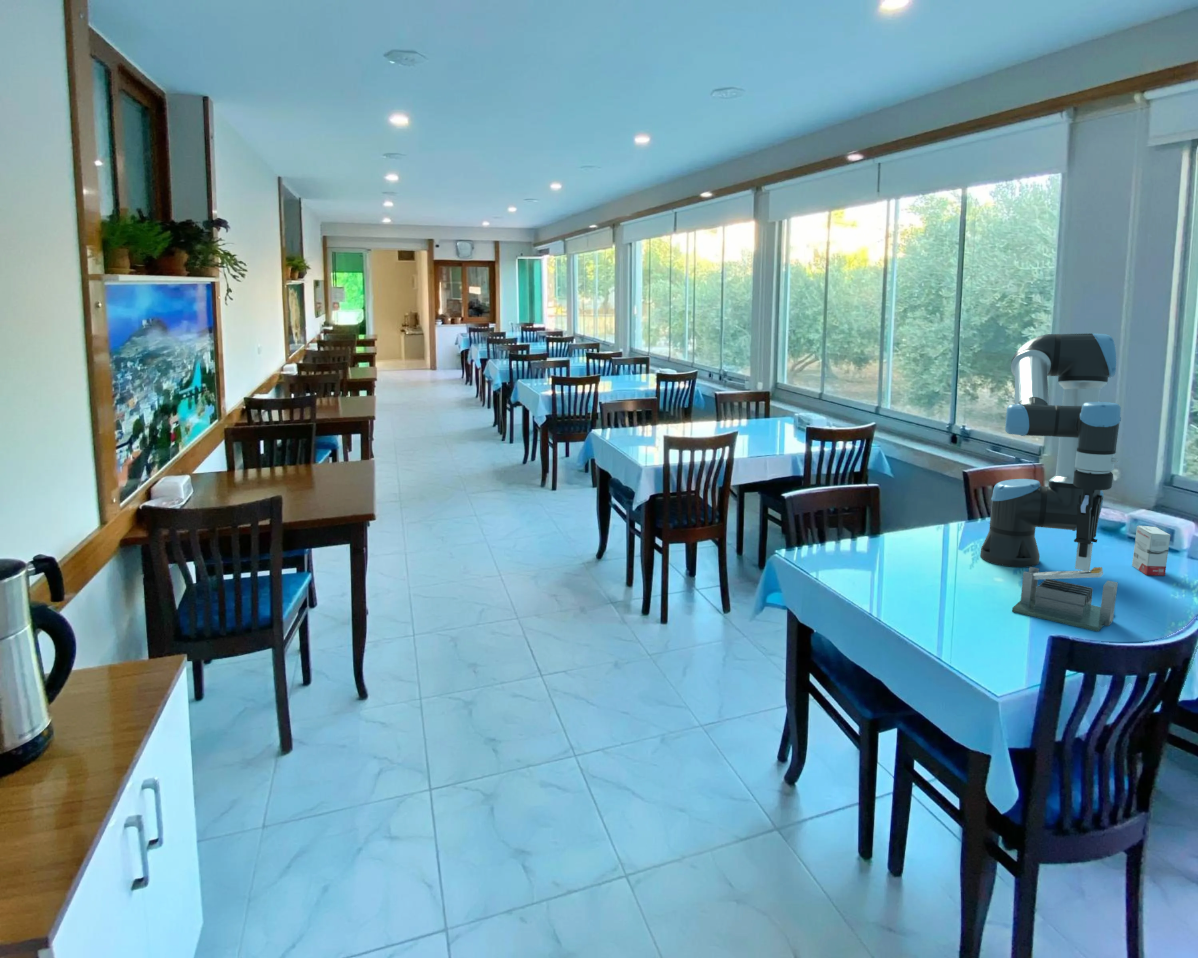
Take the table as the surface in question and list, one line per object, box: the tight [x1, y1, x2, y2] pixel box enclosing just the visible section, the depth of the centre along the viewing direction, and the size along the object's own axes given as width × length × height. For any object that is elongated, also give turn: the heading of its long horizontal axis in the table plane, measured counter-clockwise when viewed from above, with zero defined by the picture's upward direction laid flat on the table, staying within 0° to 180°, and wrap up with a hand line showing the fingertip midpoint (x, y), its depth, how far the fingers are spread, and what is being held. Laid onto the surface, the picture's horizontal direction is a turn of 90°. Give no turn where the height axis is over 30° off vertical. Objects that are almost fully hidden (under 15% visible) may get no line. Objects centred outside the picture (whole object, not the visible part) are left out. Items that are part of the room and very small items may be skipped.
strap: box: [1031, 566, 1104, 580], centre depth 183 cm, size 16×3×2 cm, turn 45°
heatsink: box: [1011, 566, 1118, 633], centre depth 183 cm, size 19×14×10 cm
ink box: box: [1131, 525, 1171, 577], centre depth 210 cm, size 9×5×12 cm, turn 168°
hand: (1082, 568), depth 179 cm, fingers closed
